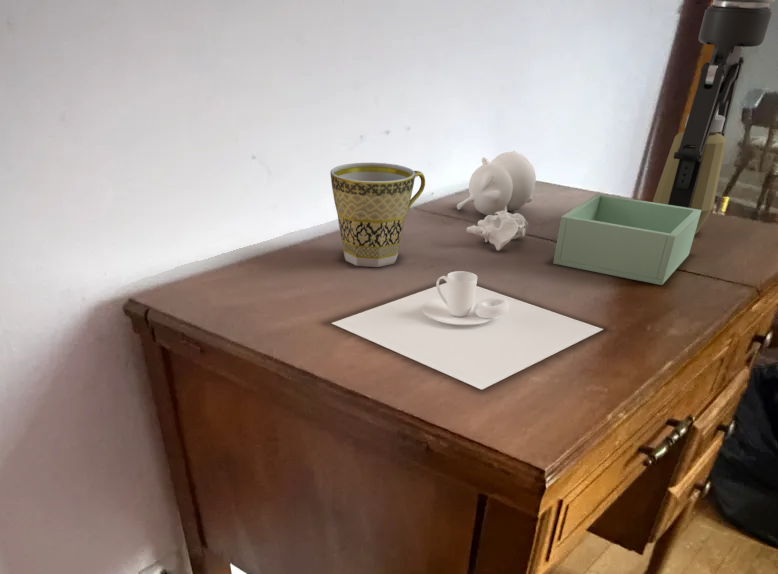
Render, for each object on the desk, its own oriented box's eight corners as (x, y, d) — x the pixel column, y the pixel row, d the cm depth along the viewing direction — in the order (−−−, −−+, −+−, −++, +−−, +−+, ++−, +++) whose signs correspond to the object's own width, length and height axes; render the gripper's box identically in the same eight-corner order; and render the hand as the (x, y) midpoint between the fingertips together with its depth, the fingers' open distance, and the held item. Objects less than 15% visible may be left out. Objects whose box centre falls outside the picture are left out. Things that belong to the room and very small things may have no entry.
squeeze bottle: (634, 225, 105) (669, 79, 93) (681, 221, 107) (721, 78, 95) (668, 241, 99) (709, 87, 87) (717, 237, 101) (763, 86, 89)
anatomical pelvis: (488, 202, 98) (535, 205, 96) (487, 235, 101) (533, 238, 98) (465, 215, 93) (514, 218, 90) (464, 249, 95) (512, 253, 92)
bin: (688, 255, 94) (701, 209, 91) (661, 285, 85) (675, 236, 81) (588, 237, 100) (596, 193, 96) (552, 263, 90) (561, 216, 87)
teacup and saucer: (518, 317, 76) (523, 279, 74) (469, 338, 72) (474, 298, 69) (455, 295, 81) (458, 258, 78) (406, 313, 77) (408, 274, 74)
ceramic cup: (362, 277, 85) (363, 185, 79) (316, 254, 91) (314, 168, 85) (445, 258, 91) (452, 171, 85) (397, 238, 97) (400, 156, 91)
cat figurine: (489, 149, 98) (534, 134, 105) (434, 183, 106) (479, 167, 113) (512, 212, 101) (554, 194, 108) (456, 241, 109) (499, 222, 116)
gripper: (725, 1, 95) (676, 186, 109) (686, 6, 80) (636, 218, 94) (786, 3, 92) (728, 193, 106) (758, 9, 77) (695, 228, 91)
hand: (685, 205), depth 100 cm, fingers open, 9 cm apart
